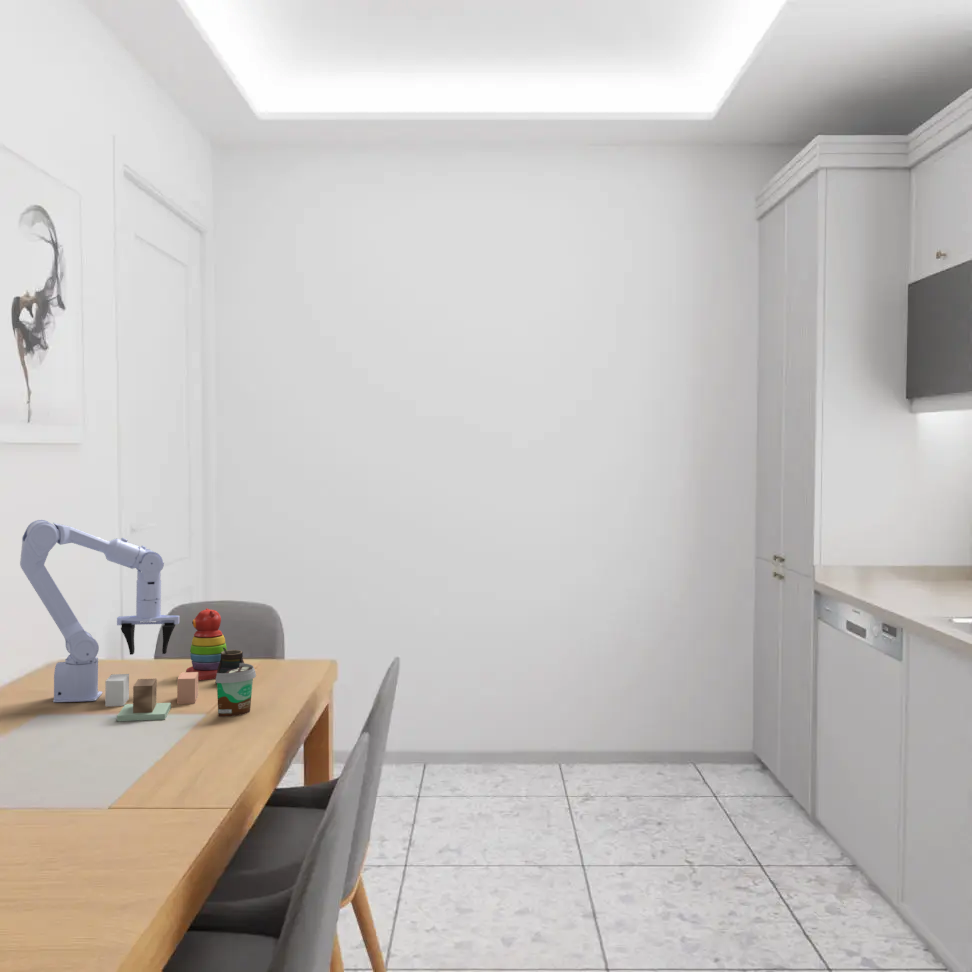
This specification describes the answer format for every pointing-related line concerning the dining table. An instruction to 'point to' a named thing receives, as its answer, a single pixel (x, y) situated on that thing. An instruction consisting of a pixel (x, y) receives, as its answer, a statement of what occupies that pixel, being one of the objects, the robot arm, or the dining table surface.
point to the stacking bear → (206, 645)
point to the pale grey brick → (117, 690)
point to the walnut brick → (144, 695)
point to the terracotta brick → (187, 688)
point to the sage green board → (157, 714)
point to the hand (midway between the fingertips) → (148, 653)
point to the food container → (235, 690)
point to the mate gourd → (230, 660)
